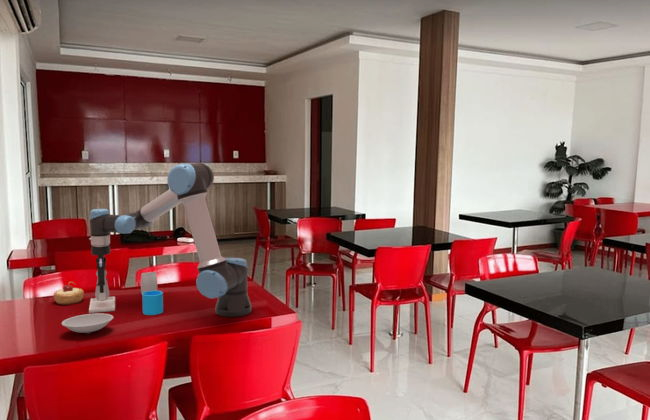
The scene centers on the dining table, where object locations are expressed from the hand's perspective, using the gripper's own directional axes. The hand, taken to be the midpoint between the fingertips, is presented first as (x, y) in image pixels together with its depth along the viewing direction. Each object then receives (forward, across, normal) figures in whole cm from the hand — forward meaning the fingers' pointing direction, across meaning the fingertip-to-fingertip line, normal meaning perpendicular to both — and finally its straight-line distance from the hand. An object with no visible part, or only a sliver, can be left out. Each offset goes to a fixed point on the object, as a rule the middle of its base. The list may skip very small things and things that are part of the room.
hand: (102, 297), depth 227 cm
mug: (+4, +13, +20) cm, 24 cm away
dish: (+4, +33, -4) cm, 33 cm away
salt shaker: (+1, 0, 0) cm, 1 cm away
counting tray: (+4, 0, 0) cm, 4 cm away
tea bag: (+4, -15, +20) cm, 25 cm away
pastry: (+4, -12, -14) cm, 19 cm away
